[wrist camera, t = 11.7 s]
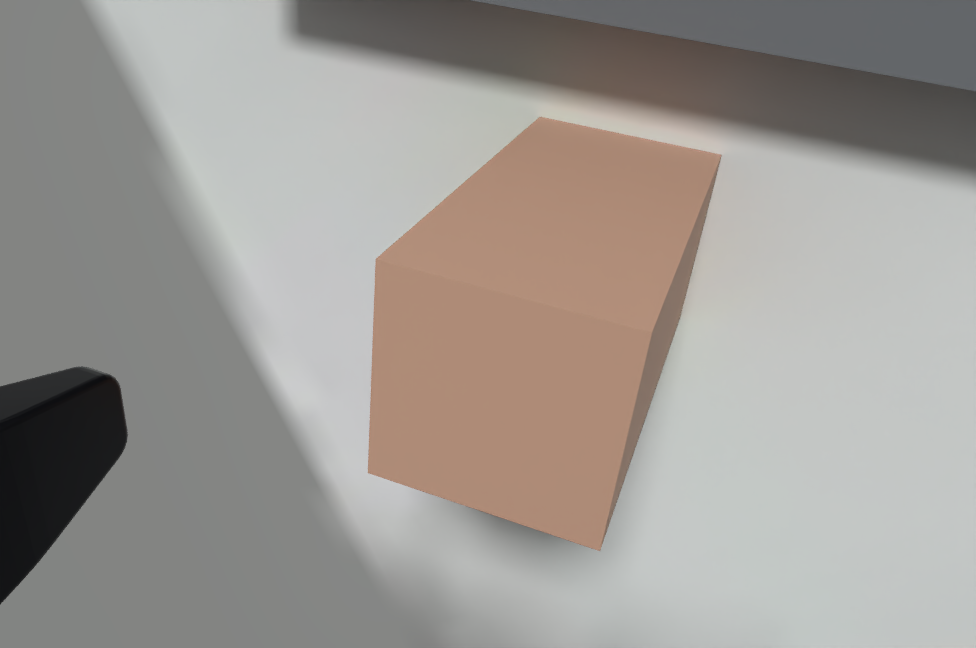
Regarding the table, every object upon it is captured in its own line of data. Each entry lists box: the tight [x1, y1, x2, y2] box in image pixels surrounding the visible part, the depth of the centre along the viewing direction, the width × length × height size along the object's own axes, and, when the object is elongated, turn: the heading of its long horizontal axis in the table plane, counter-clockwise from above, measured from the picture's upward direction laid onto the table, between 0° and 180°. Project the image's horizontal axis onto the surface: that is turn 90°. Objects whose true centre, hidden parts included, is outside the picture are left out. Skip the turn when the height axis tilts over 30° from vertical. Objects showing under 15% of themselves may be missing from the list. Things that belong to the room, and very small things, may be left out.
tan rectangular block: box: [368, 117, 722, 551], centre depth 16 cm, size 4×4×8 cm
